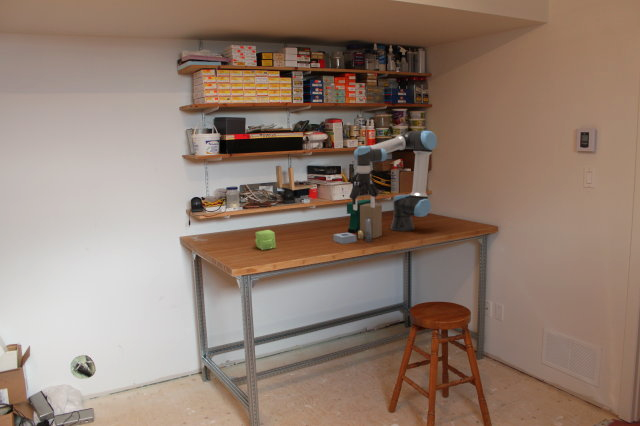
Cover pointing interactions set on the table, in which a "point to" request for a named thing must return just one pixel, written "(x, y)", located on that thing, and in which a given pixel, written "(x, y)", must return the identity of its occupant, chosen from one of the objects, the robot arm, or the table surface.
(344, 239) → the grey flat block
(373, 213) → the wooden block
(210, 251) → the table surface
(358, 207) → the power tool
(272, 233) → the green block
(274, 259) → the table surface
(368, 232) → the long pin
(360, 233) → the short pin
